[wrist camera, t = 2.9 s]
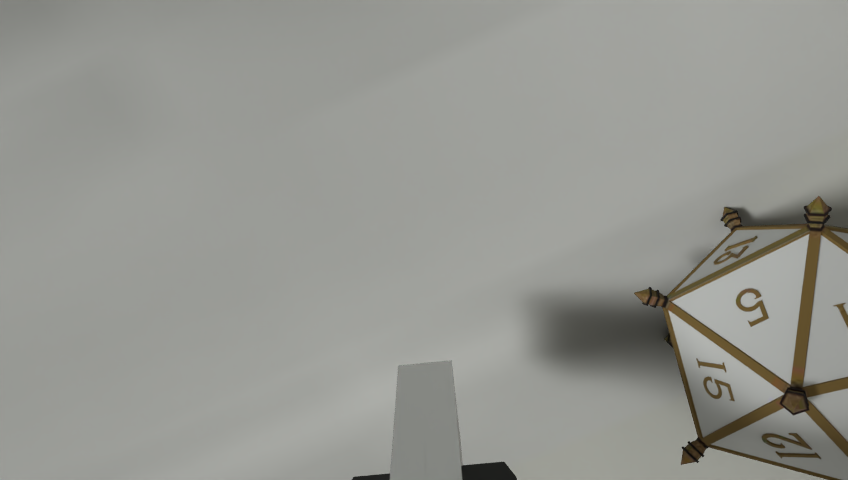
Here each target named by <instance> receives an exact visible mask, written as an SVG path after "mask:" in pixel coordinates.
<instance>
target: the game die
mask: <svg viewBox="0 0 848 480" xmlns="http://www.w3.org/2000/svg"><path fill="white" fill-rule="evenodd" d="M804 209H805V211H806V214H804V217H805V219H806V221H807V223H808V224H787V225H761V226H742V225H741V224H740V223H741V218H740V217H738V212H737V211H733V210H731V209H728V208H726V207H724V212H723V217H722V219H721V221H724V223H725V225H724V226H725V227H729V228H730V229H731V233H730V234H729V235H728V236H727V237H726V238H725V239H724V240H723V241H722V242H721V243H720V244H719V245H718V246H717V247H716V248H715V249H714V250H713V251H712V252H711V253H710V254H709V255H708V256H707V257H706V258H705V259H704V260H703V261H702V262H701V263H700V264H699V265H698V266H697V267H696V268H695V269H694V270H693V271H692V272H691V273H689V274H688V275H687V276H686V277H685V278H684V279H683V280H682V281H681V282H680V283H679V284H678V285H677V286H676V287H675V288H674V289H673V290H672V291H671V292H670V293H669V294H668V295H667V296H664V295H662V294H661V293H659V290H656V291H654V290H652V289H651V287H649V288H648V289H646V290H643V291H639V292H635V295H636V296H637V297H638V298H639V299H640V300H641V301H642V302H643V303H642V304H644V305H647V306H648V304H649V305H650V306H652V307H655V308H656V306H661V307H662V308H663V311H664V315H665V319H666V322H667V326H668V330H669V334H668V336H667V337H666V338H665V339H664V340H666V341H667V343H668V344H669V345H670V346H671V347H672V348H674V352H675V355H676V359H677V362H678V366H679V370H680V373H681V377H682V381H683V384H684V388H685V392H686V395H687V399H688V402H689V406H690V410H691V413H692V417H693V421H694V424H695V428H696V432H697V435H698V438H697V440H695V441H693V442H691V443H690V442H688V443H689V444H688V445H687V446H686V447H685V448H684V447H682V449H683V454H682V461H681V465H682V464H687V463H692V462H697V463H698V462H699V461H698V459H699V458H700V457H701V456H702V457H703V456H704V455H703V453H704V451H705V449H706V448H708V447H710V448H713V449H717V450H721V451H724V452H728V453H732V454H735V455H739V456H743V457H746V458H750V459H754V460H758V461H761V462H765V463H769V464H772V465H776V466H780V467H783V468H787V469H791V470H794V471H798V472H802V473H805V474H809V475H813V476H816V477H820V478H824V479H827V480H848V229H847V228H841V227H835V226H829V225H824V224H825V223H826V221H827V220H828V219H829V218H830V215H828V213H829V212H830V211H831V210H832V208H831V207H828V206H827V205H826V204H825V203H824V201H823V200H822V199H821V198H820V197H819V196H818V197H817V198H816V199H815V200H814V201H813V202H811V203H810V204H809V205H808V206H804Z"/></svg>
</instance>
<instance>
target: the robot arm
mask: <svg viewBox="0 0 848 480" xmlns="http://www.w3.org/2000/svg"><path fill="white" fill-rule="evenodd" d="M352 480H517V478H516V476H515V475H514V474H513V472H512V471H511V470H510V469H509V467H508V466H507V465H506V464H505V462H496V463H485V464H474V465H463V463H462V452H461V442H460V432H459V423H458V414H457V405H456V396H455V387H454V378H453V369H452V360H451V361H441V362H430V363H420V364H410V365H400V366H398V377H397V390H396V403H395V416H394V430H393V443H392V456H391V469H390V474H380V475H369V476H358V477H353V479H352Z"/></svg>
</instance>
